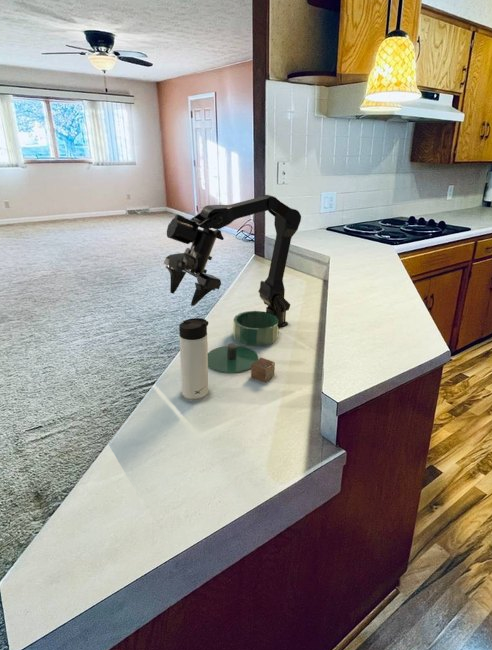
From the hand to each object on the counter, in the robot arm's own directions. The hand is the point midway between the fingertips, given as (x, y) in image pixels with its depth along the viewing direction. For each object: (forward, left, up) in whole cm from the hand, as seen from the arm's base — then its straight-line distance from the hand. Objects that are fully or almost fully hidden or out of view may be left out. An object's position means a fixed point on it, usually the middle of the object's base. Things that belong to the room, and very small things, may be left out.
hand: (181, 299), depth 119 cm
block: (-8, +29, -15) cm, 33 cm away
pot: (-20, +9, -15) cm, 27 cm away
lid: (-6, +17, -14) cm, 23 cm away
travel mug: (+10, +26, -15) cm, 31 cm away
